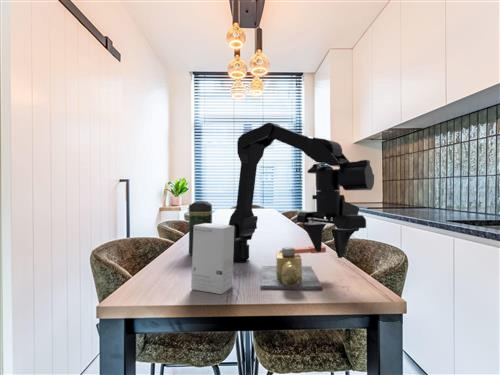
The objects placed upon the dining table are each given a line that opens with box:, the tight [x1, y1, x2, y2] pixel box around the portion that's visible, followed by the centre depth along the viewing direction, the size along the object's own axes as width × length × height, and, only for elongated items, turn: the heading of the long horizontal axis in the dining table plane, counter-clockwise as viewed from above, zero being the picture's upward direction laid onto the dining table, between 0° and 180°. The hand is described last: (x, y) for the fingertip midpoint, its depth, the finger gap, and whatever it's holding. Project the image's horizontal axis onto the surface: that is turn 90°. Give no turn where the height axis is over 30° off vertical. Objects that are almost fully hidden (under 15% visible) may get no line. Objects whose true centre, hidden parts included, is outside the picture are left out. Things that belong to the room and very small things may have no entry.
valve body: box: [260, 249, 323, 291], centre depth 73 cm, size 18×14×6 cm
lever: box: [281, 245, 327, 256], centre depth 74 cm, size 12×3×2 cm, turn 104°
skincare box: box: [190, 223, 234, 295], centre depth 66 cm, size 8×6×15 cm
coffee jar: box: [188, 200, 213, 256], centre depth 100 cm, size 10×8×19 cm
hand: (328, 254), depth 69 cm, fingers open, 7 cm apart
